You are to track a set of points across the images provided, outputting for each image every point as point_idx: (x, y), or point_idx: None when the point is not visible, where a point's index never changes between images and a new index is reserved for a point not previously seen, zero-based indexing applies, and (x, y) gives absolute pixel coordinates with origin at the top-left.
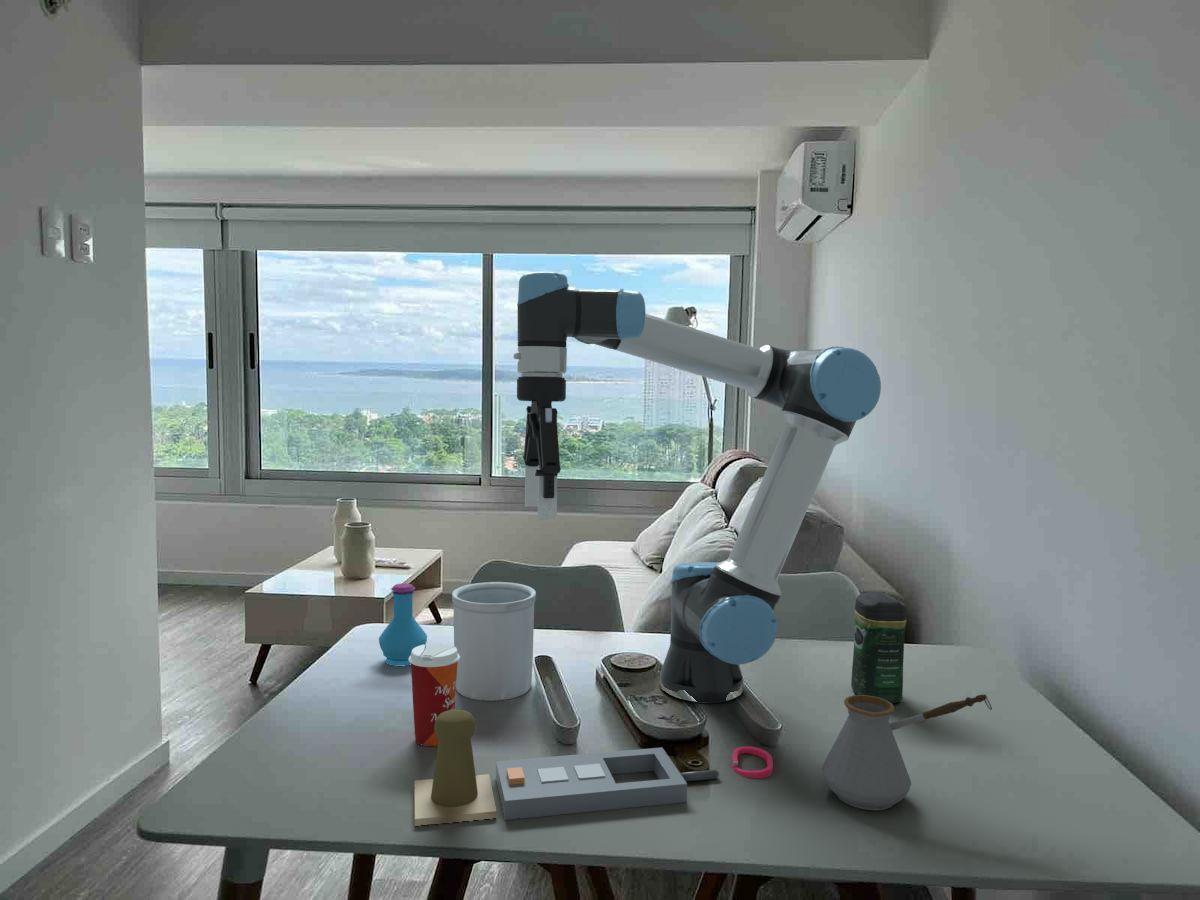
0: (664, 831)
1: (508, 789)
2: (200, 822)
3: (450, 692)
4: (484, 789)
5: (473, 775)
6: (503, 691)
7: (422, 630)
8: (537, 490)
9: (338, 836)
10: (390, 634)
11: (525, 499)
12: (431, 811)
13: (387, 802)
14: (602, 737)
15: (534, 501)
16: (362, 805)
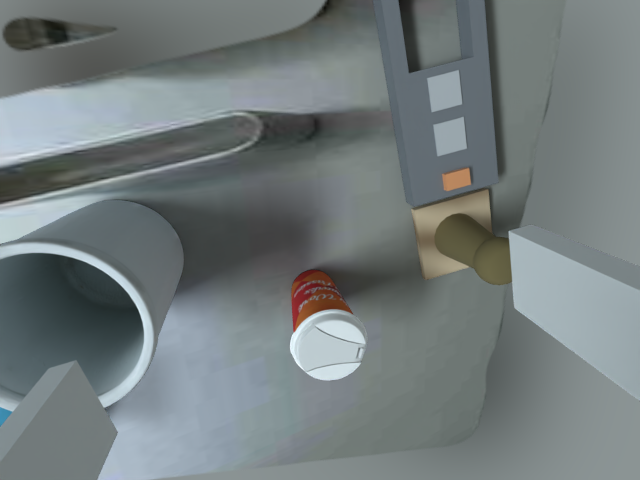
0: (523, 3)
1: (476, 182)
2: (468, 410)
3: (338, 296)
4: (446, 208)
5: (474, 222)
6: (175, 236)
7: (4, 416)
8: (38, 461)
9: (497, 310)
10: None
11: (99, 466)
12: None
13: (447, 292)
14: (291, 75)
15: (82, 415)
16: (451, 310)
